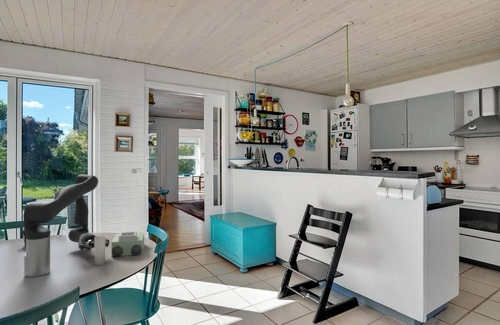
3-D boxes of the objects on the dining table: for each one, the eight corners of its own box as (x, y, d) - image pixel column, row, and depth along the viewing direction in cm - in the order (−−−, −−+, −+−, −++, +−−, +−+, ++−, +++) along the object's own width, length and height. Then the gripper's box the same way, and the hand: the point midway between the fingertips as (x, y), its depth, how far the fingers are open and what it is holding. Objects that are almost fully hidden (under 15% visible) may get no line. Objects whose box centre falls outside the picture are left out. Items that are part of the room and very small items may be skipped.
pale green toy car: (111, 257, 162) (111, 237, 162) (117, 245, 183) (117, 228, 182) (141, 255, 167) (141, 235, 166) (144, 244, 187) (144, 226, 187)
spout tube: (93, 265, 150) (93, 238, 150) (95, 262, 155) (95, 235, 154) (104, 264, 151) (104, 237, 151) (105, 261, 156) (106, 235, 156)
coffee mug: (37, 246, 179) (37, 230, 179) (20, 247, 176) (20, 231, 176) (43, 241, 190) (42, 225, 190) (26, 242, 187) (26, 226, 187)
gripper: (74, 236, 160) (84, 242, 148) (101, 231, 170) (113, 237, 159) (74, 249, 160) (84, 257, 149) (101, 244, 170) (113, 250, 159)
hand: (99, 246), depth 154 cm, fingers open, 8 cm apart
